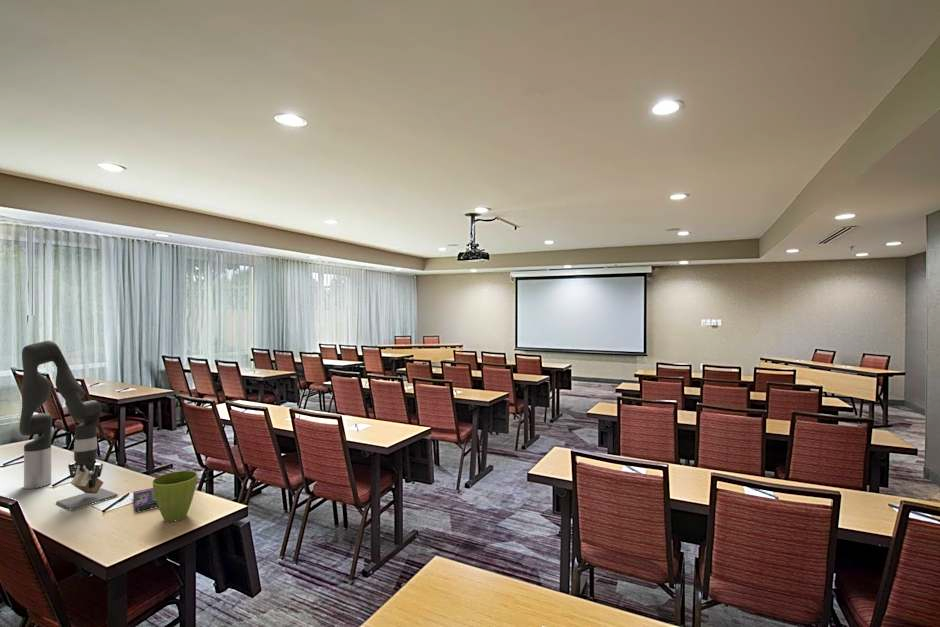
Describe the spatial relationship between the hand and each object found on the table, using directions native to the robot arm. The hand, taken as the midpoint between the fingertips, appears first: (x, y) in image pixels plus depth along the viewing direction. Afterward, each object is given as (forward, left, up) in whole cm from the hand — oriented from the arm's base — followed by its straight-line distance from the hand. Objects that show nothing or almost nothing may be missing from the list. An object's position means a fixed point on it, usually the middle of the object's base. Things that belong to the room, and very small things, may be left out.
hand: (85, 487), depth 192 cm
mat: (-1, +1, -6) cm, 6 cm away
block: (-2, +4, -2) cm, 5 cm away
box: (+25, +14, -7) cm, 29 cm away
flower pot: (+50, +9, -6) cm, 51 cm away
